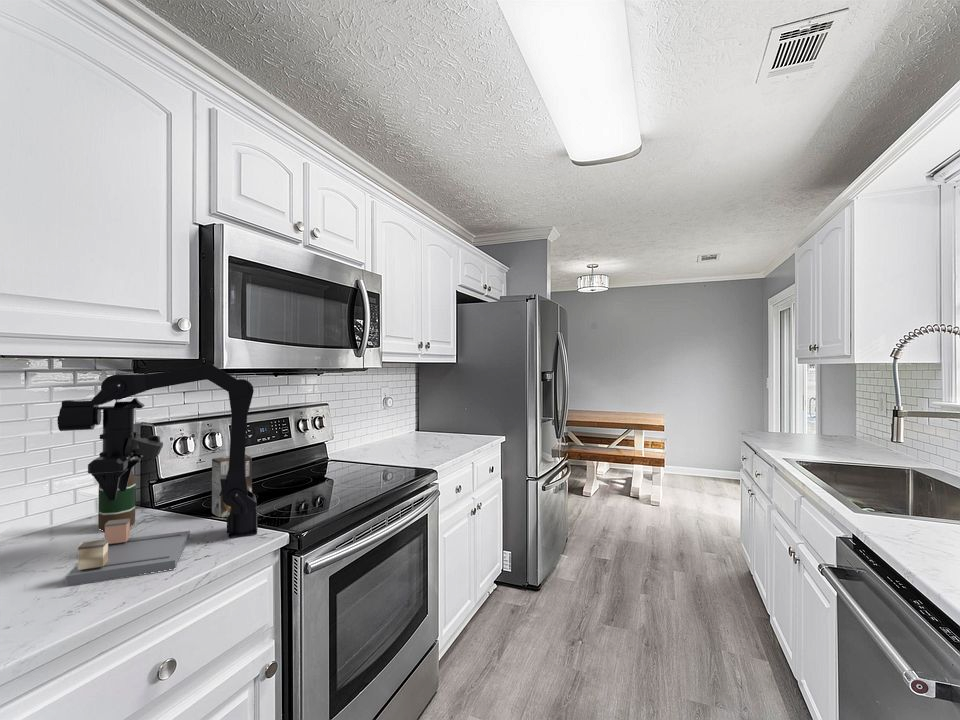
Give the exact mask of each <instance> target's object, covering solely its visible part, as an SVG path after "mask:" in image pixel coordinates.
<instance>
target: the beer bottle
mask: <svg viewBox="0 0 960 720" xmlns="http://www.w3.org/2000/svg"><path fill="white" fill-rule="evenodd" d="M136 484H137V483H136V476H135V473H134V472H133V471H132V472H131V475H130V478H129V482H128V485H127V489H126V491H120V490H119V488H118V491H117V495H116V499H115V500H113V501H109V500H108V498H107V496H106V495H105V493H104V491H103V490H102V488H101V486H100V485H99V484H98V504H97V505H98V506H97V507H98V511H97V513H98V515H97V516H98V517H97V518H98V519H97V524H98V530H99V529H101V530H103V531H105V527H104V525H105V524H106V523H107V522H108V521H110V520H119V519H128V518H130V526H131V525H132V526H134V525H135V522H136V489H137V488H136V487H137V486H136ZM133 524H134V525H133ZM132 526H131V527H132ZM101 530H100V531H101ZM103 531H102V532H103Z"/></svg>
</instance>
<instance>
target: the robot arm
mask: <svg viewBox="0 0 960 720" xmlns="http://www.w3.org/2000/svg"><path fill="white" fill-rule="evenodd" d="M205 380H206V381H207V380H208V381H210V382H211V383H213V384H214V385H216V386H218V387H220V389H223V390H225V391H226V392H228V400H229V405H230V412H231V420H230V437H229V454H228V456H229V467H228V471H227V474H226V475H223V474H221V477H220V481H221V487H220V491H219V496H221V495H222V499H223V502H224V503H225V504H226V505H227V506H230V507H231V508H230V514H228V516H226V533H227V536H228V538H230V539H231V538H235V537H237V538H238V537H244V536H245V537H246V536H252V535H257V534H258V528H259V527H258V502H257V498H256V494H254V493H253V491H252V492H250V491H249V490H248V489H247V483H246V476H245V470H244V465H245V455H246V444H247V443H246V442H247V429H248V428H247V425H248V414H249V410H250V407H251V403H252V400H253V396H254V385H252V383H251V382H250V381H249V380H247V379H246V378H235V377H234V376H232V375H231V374H229V373H227V372H225V370H222V369H220V368H218V366H217V365H215V364H213V363H206V364H203V365H198V366H193V367H187V368H180V369H174V370H173V369H172V370H167V371H162V372H155V373H130V374H129V373H126V374H125V373H122V374H112V375H108V377H105V379H104V380H103V381H102V383H101V385H100V391H99V392H98V393H97V394H96V395H95V396H93V397H92V399H91V400H72V399H70V400H69V399H68V400H67V399H66V400H62V401H61V406H60V409H59V413H58V416H57V421H56V422H57V428H58V430H59V431H60V432H68V431H69V432H73V431H90V430H91V431H92V430H94V429H95V427H96V426H99V425H101V421H102V433H101V434H99V440H102V451H100V452H99V456H98V457H96V458H94V459H93V460H92V461H91V462H89V463H88V464H87V474H91V475H90V476H93V478H94V479H95V480H96V482H97V484H98V486H99V485H100V486H101V488H102V490H103V491H104V493H105V495H106V496H107V498H108V500H109V501H113V500H115V499H116V495H117V491H118V488H119V490H120V491H126V489H127V485H128V482H129V478H130V475H131V472H133V468H134V467H135V466H136V465H137V464H139V462H140V461H141V460H142V458H143V457H146V458H148V459H152V460H155V459H156V458H157V457H159V455H160V453H161V450H162V448H163V446H164V442H162V441H161V436H158V435H154V434H153V435H151V436H150V437H148V438H146V437H139V436H138V435H139V434H138V431H137V430H135V409H143V408H144V407H145V403H142V402H140V400H139V399H138V398H137V397H135V398H133V399H132V400H131V401H129V400H128V401H119V400H123V399H126V398H129V397H132V396H134V395H135V396H136V395H139V394H141V393H144V392H147V391H150V390H154V389H159V388H164V387H165V388H166V387H171V386H177V385H182V384H183V385H184V384H187V383H194V382H200V381H205ZM112 401H115V403H114V405H108V406H107V405H106V406H101V405H104V404H108V403H111V402H112ZM136 457H138V458H136Z"/></svg>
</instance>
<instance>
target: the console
mask: <svg viewBox="0 0 960 720" xmlns="http://www.w3.org/2000/svg"><path fill="white" fill-rule="evenodd" d="M190 532H191V531H190V530H187V531H186V530H185V531H177V532H169V533H162V534H161V533H160V534H154V535H146V536H138V537H130V538H129V539H128V540H127V541H126V542H121V543H113V544H108V561H107V562H106V564H105V565H104V566H103V567H96V568H89V569H82V570H78V564H77V565H76V566H75V567H74V568H73V569H71V571H70V572H69V573H68V574H67V575H66V587H71V586H77V585H84V584H91V583H96V582H104V580H105V581H109V580H110V579H111V580H116V579H115V578H118V579H122V578H121V577H124V578H128V577H127V576H131V577H134V576H133V575H138V576H140V575H139V574H144V573H151V572H157V573H159V572H158V571H164V570H169V569H174V568H176V569H177V567H178V565H177V563H178V562H180V561H179V559H180V560H181V558H182V556H183V554H184V552H185V550H186V548H185V547H187V546H186V545H188V543H189V541H190V539H189V538H190V536H191V535H190V534H191V533H190ZM188 540H189V541H188ZM184 549H185V550H184ZM183 551H184V552H183ZM182 553H183V554H182ZM181 555H182V556H181ZM180 557H181V558H180ZM178 564H179V563H178ZM176 566H177V567H176ZM164 572H165V571H164ZM151 574H152V573H151ZM144 575H145V574H144Z"/></svg>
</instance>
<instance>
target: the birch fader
mask: <svg viewBox="0 0 960 720" xmlns="http://www.w3.org/2000/svg"><path fill="white" fill-rule="evenodd" d="M77 551H78V552H77V553H78V555H77V558H78V559H77V561H78V562H77V565H78V570H82V569H89V568H96V567H103V566H104V565H105V564H106V562H107V561H108V539H105V538H104V539H97V540H89V541H83V542H82V543H81V544H80V545H79V546H78V547H77Z"/></svg>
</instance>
